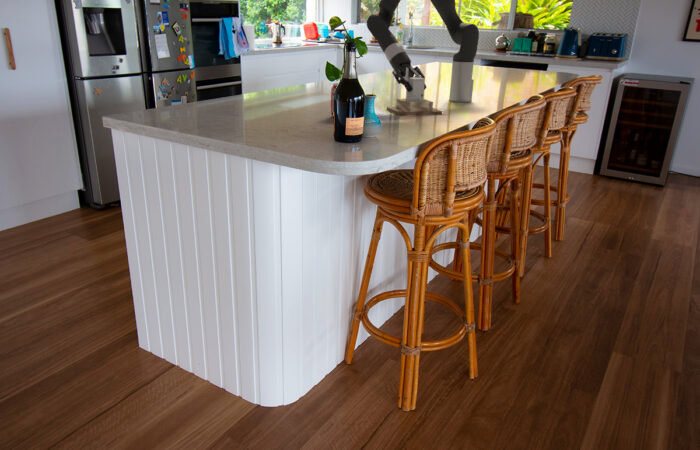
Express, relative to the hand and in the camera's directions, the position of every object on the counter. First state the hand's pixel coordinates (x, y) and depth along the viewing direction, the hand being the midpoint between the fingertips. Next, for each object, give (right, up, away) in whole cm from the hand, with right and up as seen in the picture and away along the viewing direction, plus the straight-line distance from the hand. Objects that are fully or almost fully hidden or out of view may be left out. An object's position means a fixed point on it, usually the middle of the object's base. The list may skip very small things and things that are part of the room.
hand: (417, 89), depth 215 cm
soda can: (-30, -13, -9) cm, 34 cm away
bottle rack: (-1, -8, +4) cm, 9 cm away
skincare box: (-1, -7, +4) cm, 8 cm away
